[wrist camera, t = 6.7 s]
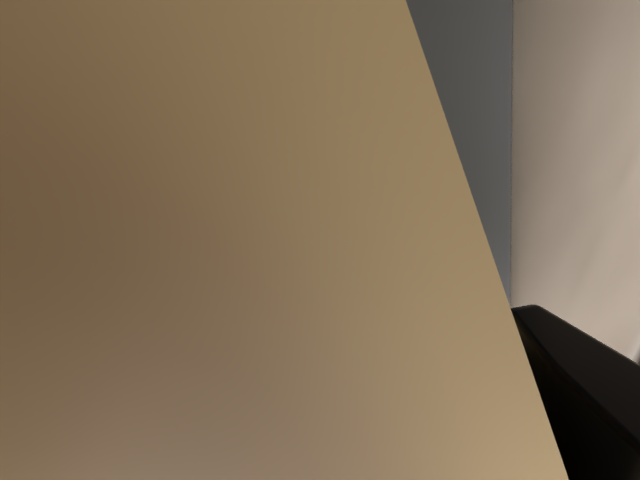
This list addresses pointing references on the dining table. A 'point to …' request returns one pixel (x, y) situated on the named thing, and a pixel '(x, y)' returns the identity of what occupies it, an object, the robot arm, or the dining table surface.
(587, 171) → the dining table surface
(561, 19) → the dining table surface
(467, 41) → the peg rack
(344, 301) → the shelf board
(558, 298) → the dining table surface
